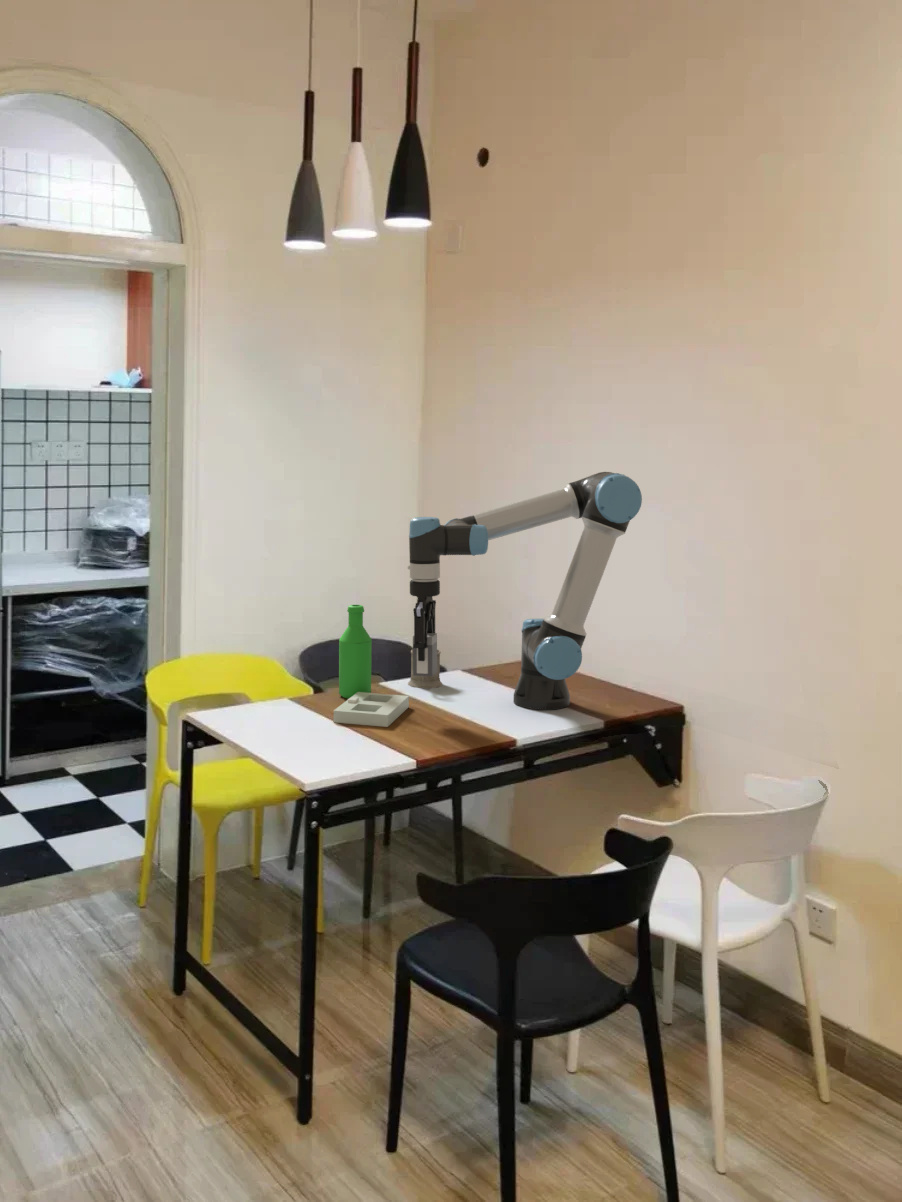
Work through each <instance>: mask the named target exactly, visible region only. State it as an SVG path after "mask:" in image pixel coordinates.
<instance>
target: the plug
mask: <svg viewBox="0 0 902 1202" xmlns="http://www.w3.org/2000/svg"><path fill="white" fill-rule="evenodd" d="M413 645H414V635H413V636H412V646H413ZM426 648H428V674H423V673H417V648H413V647H412V649H413V675H414V676H433V675H434V674H435V673H437V649H438V633H436V632H435V633H427V647H426Z"/></svg>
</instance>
